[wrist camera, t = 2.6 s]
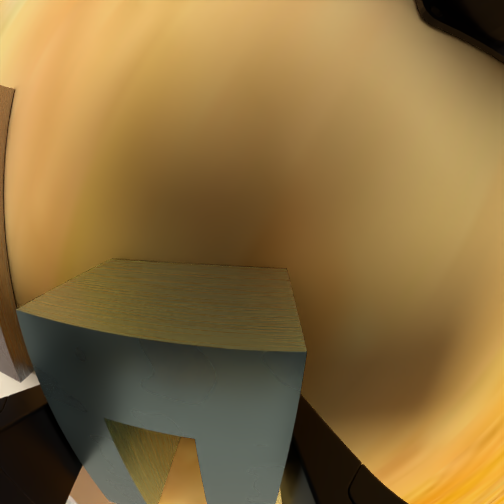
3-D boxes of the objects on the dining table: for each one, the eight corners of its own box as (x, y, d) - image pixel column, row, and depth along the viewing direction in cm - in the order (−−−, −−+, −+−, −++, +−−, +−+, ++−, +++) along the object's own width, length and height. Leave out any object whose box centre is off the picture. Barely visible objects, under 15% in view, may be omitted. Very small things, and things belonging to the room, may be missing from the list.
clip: (286, 268, 7) (306, 351, 3) (268, 443, 9) (267, 530, 5) (111, 258, 8) (16, 309, 4) (143, 427, 9) (108, 500, 5)
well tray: (58, 379, 9) (16, 423, 6) (134, 515, 12) (123, 545, 9) (-40, 329, 9) (-71, 349, 6) (36, 470, 12) (21, 492, 9)
